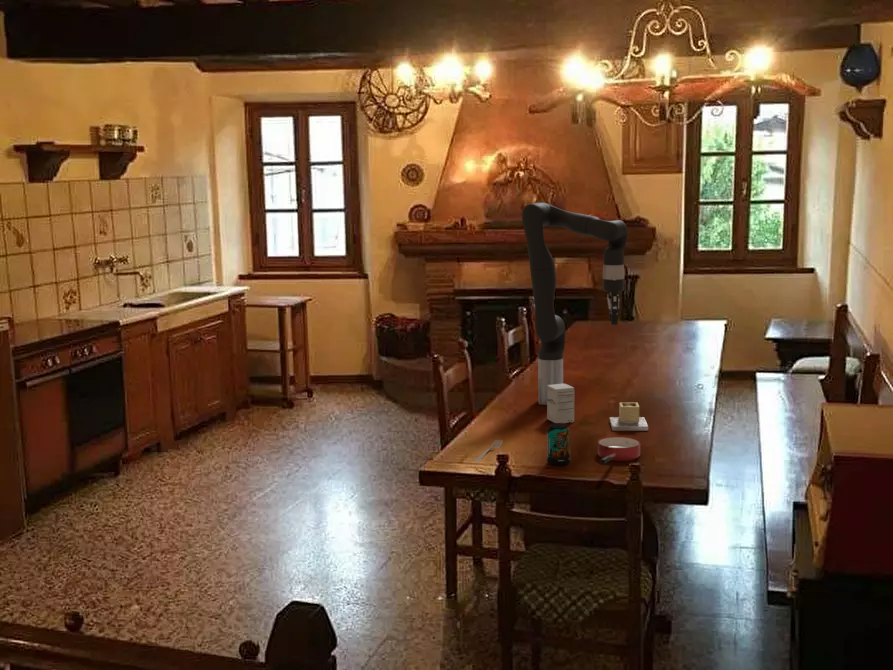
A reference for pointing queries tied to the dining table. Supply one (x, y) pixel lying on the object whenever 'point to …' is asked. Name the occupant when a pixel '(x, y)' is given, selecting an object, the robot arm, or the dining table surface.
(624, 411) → the box
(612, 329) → the dining table surface
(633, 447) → the frying pan
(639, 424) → the shaft stand
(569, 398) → the supplement box
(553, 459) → the beverage can
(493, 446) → the fork
